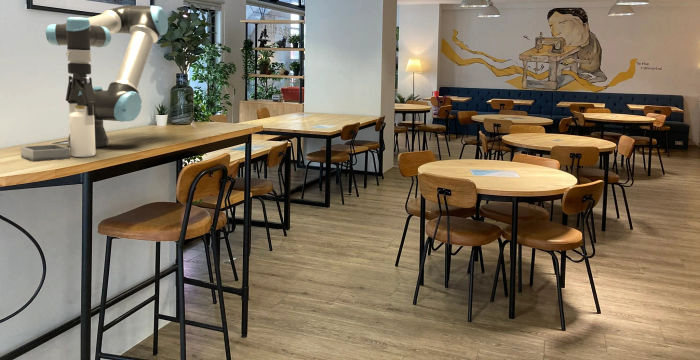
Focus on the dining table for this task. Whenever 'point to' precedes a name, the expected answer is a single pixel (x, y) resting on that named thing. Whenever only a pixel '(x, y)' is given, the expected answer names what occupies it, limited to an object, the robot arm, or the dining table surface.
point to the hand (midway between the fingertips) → (81, 123)
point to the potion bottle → (81, 134)
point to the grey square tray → (45, 152)
